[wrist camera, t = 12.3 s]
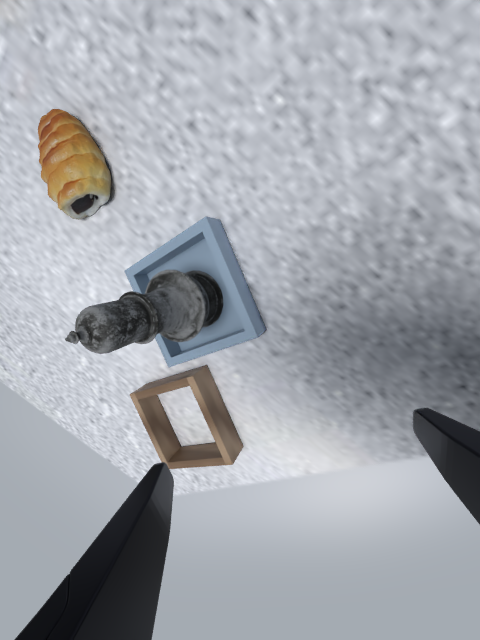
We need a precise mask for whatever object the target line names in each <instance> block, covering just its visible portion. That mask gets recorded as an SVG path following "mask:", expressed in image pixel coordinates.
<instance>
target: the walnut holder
mask: <svg viewBox="0 0 480 640" xmlns="http://www.w3.org/2000/svg"><path fill="white" fill-rule="evenodd" d="M186 386H190V387H191V389H192V391H193V394H194V396H195V398H196V400H197V402H198V405H199V407H200V409H201V411H202V413H203V416H204V418H205V420H206V422H207V424H208V427H209V429H210V431H211V433H212V435H213V438H214V440H215V442H216V443H208V444H200V445H192V446H184V447H181V446H180V444H179V441H178V439H177V437H176V435H175V433H174V431H173V428H172V426H171V424H170V422H169V420H168V418H167V416H166V413H165V411H164V409H163V407H162V405H161V403H160V401H159V398H158V396H157V394H161V393H164V392H168V391H172V390H175V389H179V388H183V387H186ZM130 396H131V399H132V401H133V403H134V405H135V407H136V409H137V411H138V413H139V415H140V418H141V420H142V422H143V424H144V426H145V428H146V430H147V432H148V434H149V437H150V439H151V441H152V443H153V445H154V447H155V449H156V451H157V453H158V456H159V458H160V460H161V462H165V463H166V464H167V466H168V468H169V469H177V468H191V467H205V466H219V465H233V463H234V462H235V460H236V458H237V456H238V455H239V453H240V451H241V450H242V448H243V445H242V442H241V440H240V438H239V436H238V433H237V431H236V429H235V427H234V424H233V422H232V420H231V418H230V415H229V413H228V411H227V409H226V407H225V404H224V402H223V400H222V398H221V395H220V393H219V391H218V389H217V386H216V384H215V382H214V380H213V377H212V375H211V373H210V371H209V368H208V366H207V365H205V366H202V367H199V368H196V369H192V370H189V371H186V372H183V373H180V374H176V375H173V376H170V377H167V378H164V379H160V380H157V381H154V382H151V383H148V384H145V385H144V386H142V387H141V388H139V389H138V390H136V391H134V392H133V393H131V394H130Z"/></svg>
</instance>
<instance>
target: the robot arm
mask: <svg viewBox="0 0 480 640" xmlns="http://www.w3.org/2000/svg"><path fill="white" fill-rule="evenodd" d="M413 429H414V432H415V434H416V436H417V438H418V439H419V441H420V442H421V444H422V445H423V447H424V448H425V450H426V452H427V453H428V455H429V456H430V458H431V459H432V461H433V462H434V464H435V465H436V467H437V468H438V470H439V472H440V473H441V474H442V476H443V478H444V479H445V480H446V482H447V483H448V484H449V485H450V487H451V488H452V490H453V491H454V492H455V493H456V495H457V496H458V497H459V499H460V500H461V501H462V502H463V504H464V505H465V506H466V508H467V509H468V510H469V511H470V513H471V514H472V515H473V517H474V518H475V519H476V520H477V522H478V523H479V524H480V431H477V430H475V429H473V428H471V427H469V426H466V425H464V424H462V423H460V422H458V421H455V420H453V419H451V418H449V417H447V416H444V415H442V414H440V413H438V412H436V411H433V410H431V409H429V408H421V409H416V410H414V412H413ZM173 487H174V480H173V476H172V474H171V472H170V470H169V468H168V466H167V464H166V463H165V462H162V463H157V464H154V465H153V466H152V467H151V469H150V470H149V471H148V472H147V474H146V475H145V476H144V478H143V479H142V480H141V481H140V483H139V484H138V485H137V487H136V488H135V489H134V490H133V492H132V493H131V494H130V496H129V497H128V498H127V499H126V501H125V502H124V503H123V504H122V506H121V507H120V509H119V510H118V511H117V512H116V513H115V515H114V516H113V517H112V519H111V520H110V522H108V524H107V525H106V526H105V528H104V529H103V530H102V531H101V533H100V534H99V535H98V537H97V538H96V539H95V540H94V542H93V543H92V544H91V546H90V547H89V548H88V549H87V551H86V552H85V553H84V554H83V556H82V557H81V558H80V560H79V561H78V562H77V563H76V565H75V566H74V567H73V569H72V570H71V572H70V574H69V575H67V576H66V578H65V579H64V580H63V581H62V583H61V584H60V585H59V586H58V588H57V589H56V590H55V591H54V593H53V594H52V595H51V596H50V598H49V599H48V600H47V601H46V603H45V604H44V605H43V606H42V608H41V609H40V610H39V611H38V613H37V614H36V615H35V616H34V617H33V618H32V620H31V621H30V622H29V623H28V624H27V626H26V627H25V628H24V629H23V630H22V632H21V633H20V634H19V635H18V636H17V638H16V639H15V640H151V639H152V633H153V628H154V622H155V616H156V611H157V605H158V599H159V593H160V587H161V582H162V576H163V570H164V564H165V557H166V552H167V547H168V541H169V534H170V524H171V512H172V500H173Z"/></svg>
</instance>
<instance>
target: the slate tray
mask: <svg viewBox="0 0 480 640" xmlns="http://www.w3.org/2000/svg"><path fill="white" fill-rule="evenodd" d="M164 270H178V271H180V272H183V273H186V272H189V271H193V270H195V271H202V272H205V273H207V274H209V275H210V276H212V277H213V278H214V280H215V281H216V282H217V283H218V285H219V287H220V289H221V291H222V295H223V309H222V313H221V315H220V317H219V319H218V320H217V321H216V322H215V323H214V324H212V325H210V326H208V327H203V328H202V329H201V331H200V332H199V333H198V334H197V335H196V337H194V338H193V339H191V340H189V341H186V342H174V341H171V340H169V339H166V338H164V337H163V336H162V335H161V334H157V335H156V337H155V339H156V341H157V343H158V345H159V347H160V350H161V352H162V354H163V356H164V358H165V361H166V363H167V365H168V367H171V366H174V365H177V364H180V363H183V362H186V361H189V360H192V359H195V358H198V357H201V356H204V355H207V354H210V353H213V352H216V351H219V350H222V349H224V348H227V347H230V346H233V345H236V344H239V343H242V342H245V341H248V340H251V339H254V338H257V337H259V336H260V335H261V334H262V333H263V332H264V331H265V330H266V328H265V325H264V323H263V321H262V318H261V316H260V313H259V311H258V309H257V306H256V304H255V302H254V299H253V297H252V295H251V292H250V290H249V288H248V285H247V283H246V280H245V278H244V276H243V273H242V271H241V269H240V266H239V264H238V262H237V259H236V257H235V255H234V252H233V250H232V247H231V245H230V243H229V240H228V238H227V236H226V233H225V231H224V229H223V226H222V224H221V222H220V220H219V219H215V218H210V217H204V218H203V219H201V220H200V221H198V222H197V223H195V224H194V225H192V226H191V227H189V228H188V229H186V230H185V231H183V232H182V233H180V234H179V235H177V236H176V237H174V238H173V239H172V240H170V241H169V242H167V243H166V244H164V245H163V246H161V247H160V248H158V249H157V250H155V251H154V252H152V253H151V254H149V255H148V256H146V257H145V258H143V259H142V260H140V261H139V262H137V263H136V264H134V265H133V266H131V267H130V268H128V269H127V270H125V273H126V275H127V278H128V280H129V282H130V284H131V286H132V289H133V291H134V292H139V293H141V294H145V291H146V288H147V285H148V283H149V281H150V280H151V279H152V277H153V276H154V275H156V274H157V273H158V272H161V271H164Z"/></svg>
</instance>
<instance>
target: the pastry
mask: <svg viewBox="0 0 480 640" xmlns="http://www.w3.org/2000/svg"><path fill="white" fill-rule="evenodd" d="M38 135H39V140H40V143H39V145H38V147H39V150H40V159H39V162H40V164H41V166H42V171H41V178H42V179H43V180H44V182H46V183H47V184H48V195H49V197H50V198H51V199H52V200H53V201H55V202H56V203H58V208H59V209H60V210H62V211H63V212H64V213H66V214H67V215H68V216H70V217H71V218H73V219H78V220H79V219H82V218H84V217H87V216H92V215H93V214H95V213H96V211H97V210H98V209H99V207H100V205H104V204H105V203H106V202H107V201H108V200H109V197H110V190H111V175H110V171H109V169H108V168H107V165H106V163H105V158H104V156H103V155H102V153H101V150H100V149H99V148H98V146H97V144H96V143H95V141H94V140H93V139H92V137H91V136H90V134H89V133H88V131H87V130H86V128H85V127H84V126H83V124H82V123H81V122H80V121H79V120H78V119H77V118H75V117H74V116H72V115H70V114H69V113H68V112H66V111H63V110H60V109H52V110H51V111H50V112H49V113H47V115H44V116H42V117H41V120H40V123H39V126H38Z"/></svg>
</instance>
